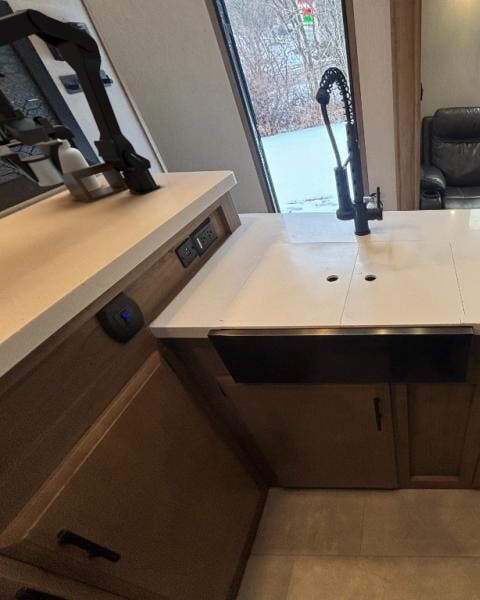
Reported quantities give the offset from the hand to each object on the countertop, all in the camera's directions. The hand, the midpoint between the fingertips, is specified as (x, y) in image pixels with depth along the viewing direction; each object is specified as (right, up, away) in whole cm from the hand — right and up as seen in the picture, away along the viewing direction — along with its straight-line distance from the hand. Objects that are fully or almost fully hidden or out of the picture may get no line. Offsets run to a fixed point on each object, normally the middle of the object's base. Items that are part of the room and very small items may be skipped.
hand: (49, 178), depth 79 cm
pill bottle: (-17, +6, +27) cm, 32 cm away
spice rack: (-8, +4, +23) cm, 24 cm away
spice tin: (0, -1, +1) cm, 1 cm away
